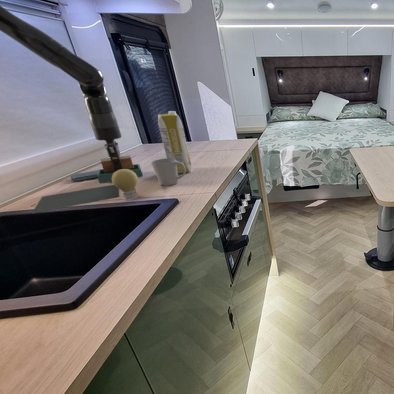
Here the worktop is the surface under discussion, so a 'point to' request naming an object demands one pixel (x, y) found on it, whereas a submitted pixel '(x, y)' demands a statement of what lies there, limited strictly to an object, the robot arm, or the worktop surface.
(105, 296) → the worktop surface
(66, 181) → the worktop surface
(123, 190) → the light bulb
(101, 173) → the tray
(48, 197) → the slate board
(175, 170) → the cup
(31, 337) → the worktop surface
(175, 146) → the juice carton
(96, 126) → the robot arm
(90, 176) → the smartphone
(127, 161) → the eraser
